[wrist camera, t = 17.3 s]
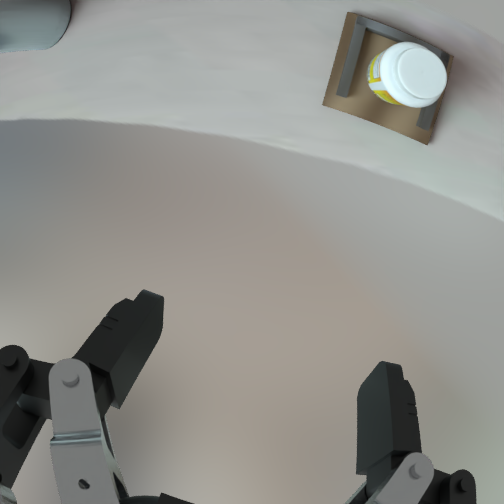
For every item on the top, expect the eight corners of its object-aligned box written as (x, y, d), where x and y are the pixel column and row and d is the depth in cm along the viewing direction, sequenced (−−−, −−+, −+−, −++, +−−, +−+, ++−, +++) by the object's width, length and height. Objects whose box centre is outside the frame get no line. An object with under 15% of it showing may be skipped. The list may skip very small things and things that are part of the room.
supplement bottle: (423, 96, 25) (466, 102, 16) (377, 109, 27) (403, 118, 18) (404, 47, 23) (440, 31, 14) (356, 59, 25) (374, 45, 16)
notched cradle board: (322, 104, 29) (322, 105, 27) (346, 13, 23) (349, 8, 21) (424, 143, 28) (431, 148, 26) (450, 57, 22) (459, 55, 20)
